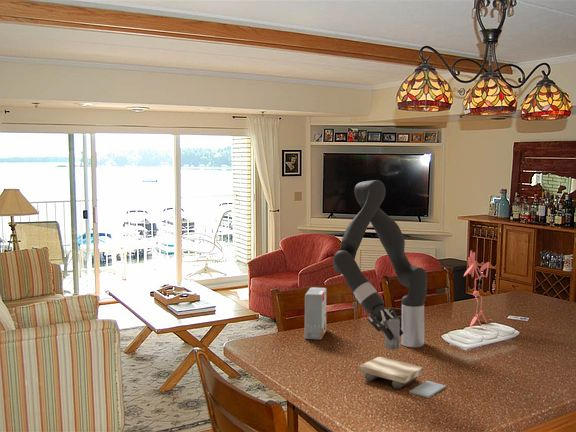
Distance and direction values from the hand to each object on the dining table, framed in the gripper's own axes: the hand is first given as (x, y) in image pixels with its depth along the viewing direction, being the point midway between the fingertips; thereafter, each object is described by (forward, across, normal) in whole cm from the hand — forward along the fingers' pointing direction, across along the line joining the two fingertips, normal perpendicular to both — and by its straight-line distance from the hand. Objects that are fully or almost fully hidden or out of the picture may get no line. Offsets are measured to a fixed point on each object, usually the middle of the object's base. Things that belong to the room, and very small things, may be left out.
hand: (396, 336), depth 203 cm
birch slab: (+10, -1, +12) cm, 16 cm away
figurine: (+2, +84, +21) cm, 87 cm away
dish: (-18, +64, +42) cm, 79 cm away
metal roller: (+2, 0, +4) cm, 5 cm away
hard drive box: (-29, +24, +52) cm, 64 cm away
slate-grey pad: (+20, 0, +3) cm, 20 cm away
